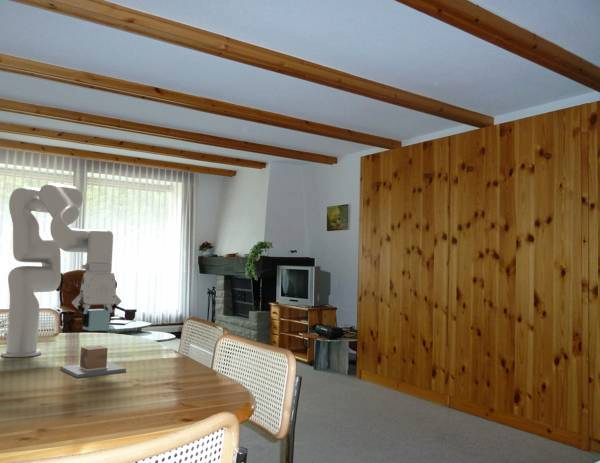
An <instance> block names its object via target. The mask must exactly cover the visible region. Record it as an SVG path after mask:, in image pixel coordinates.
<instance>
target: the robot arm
mask: <svg viewBox="0 0 600 463" xmlns="http://www.w3.org/2000/svg"><path fill="white" fill-rule="evenodd" d="M83 200H84V199H83V194H82V191H80V189H79V188H77V187H76V186H74V185H73V186H71V185H65V184H60V183H46V184H44V185H42V186H41V187H39V188H38V187H33V186H32V187H31V186H22V187H18V188H15V189H14V190H13V191H12V193H11V194H10V197H9V201H8V208H9V209H8V210H9V215H10V217H11V218H10V219H11V222H12V255H13V258H14V259H15V260H16V261H17V262H20V263H31V264H32V263H35V264H36V263H38V264H39V263H40V264H41V265H39V266H38V265H21V266H16V267H13V269H11V270H10V271H9V273H8V275H7V276H8V277H7V282H8V289H9V290H8V291H9V306H8V307H9V309H8V311H9V312H8V325H7V340H6V349H5V350H2V351H1V352H0V353H1V356H2V357H5V358H28V357H35V356H40V355H41V354H42V350H41V349H40V348H37V347H38V335H39V333H38V332H39V316H40V315H39V314H40V303H39V300H38V299H37V297H36V295H35V293H49V292H54V291H56V290H57V289H58V288H59V287H60V285H61V279H62V275H61V274H62V271H61V270H62V269H61V268H62V267H61V266H62V265H61V264H62V262H61V260H62V259H61V250H62V251H64V252H66V253H67V252H69V253H86V262H85V264H82V265H81V269H82V270H85V272H84V273H83V276H82V279H81V284H80V292H79V294H78V295H76V297H75V298H74V299H73V300H72V301H71V304H72V305H73V306H74V307H75V308H76V309H77V310H78V311H79V312H80V313H81V325H82V327H83V326H84V327H88V324H89V314H88V310H89V309H90V308H91V306H103V307H104V309H105V310H110V323H111V320H112V313H113V312H114V310H116V308H117V306H119V304H120V303H122V299H120V297H119V296H118V295H117V290H116V288H117V286H116V278H115V273H113V272H112V268H113V267H112V265H113V250H114V249H113V248H114V247H113V246H114V233H113V232H112V231H111V230H106V229H85V228H84V229H83V228H82V229H81V228H71V227H70V226H69V225H71V224H73V223H74V222H76V220H77V219H78V218H79V216H80V210H79V208H80V207H81V206H82V204H83ZM32 212H38V213H45V214H46V213H47V214H49V215H50V216H51V217H52V219H51V222H50V228H49V229H50V236H51V237H42V236H40V224H39V222H38V220H37V218H36V216H35V215H34V214H33V213H32ZM80 303H81V304H82V305H81V304H80Z"/></svg>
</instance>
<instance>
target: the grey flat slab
mask: <svg viewBox="0 0 600 463" xmlns="http://www.w3.org/2000/svg"><path fill="white" fill-rule="evenodd" d="M59 369H60V371H62V372H64V373H66V374H69V375H71V376H72V377H75V378H77V379H79V378H87V377H94V376H95V377H96V376H102V375H111V374H118V373H126V372H127V368H126V367H123V366H121V365H118V364H115V363H113V362H111V361H108V360H107V367H104V368H96V369H88V370H87V369H85V368H83V367H81V366H80V363H78V364H70V365H61V366H60V368H59Z"/></svg>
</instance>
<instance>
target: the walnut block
mask: <svg viewBox="0 0 600 463" xmlns="http://www.w3.org/2000/svg"><path fill="white" fill-rule="evenodd" d="M108 348H109V347H106V346H102V345H98V344H97V345H90V346H89V345H88V346H86V345H85V346H81V347H80V356H79V357H80V358H79V364H80V366H81V367H83V368H85V369H87V370H88V369H96V368H104V367H107V361H108Z"/></svg>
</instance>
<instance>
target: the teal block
mask: <svg viewBox="0 0 600 463" xmlns="http://www.w3.org/2000/svg"><path fill="white" fill-rule="evenodd" d="M88 314H89V324H88V327H84V326H83V325H82V330H86V331H89V332H95V331H109V330H110V323H111V322H110V310H105V308H95V309H94V308H93V309H92V308H91V309H90V308H89V310H88Z"/></svg>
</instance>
